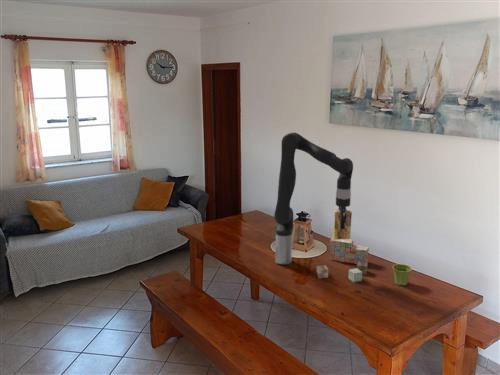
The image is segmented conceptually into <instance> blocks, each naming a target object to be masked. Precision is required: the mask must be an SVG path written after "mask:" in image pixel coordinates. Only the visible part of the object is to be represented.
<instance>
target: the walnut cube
mask: <svg viewBox="0 0 500 375" xmlns="http://www.w3.org/2000/svg"><path fill="white" fill-rule="evenodd" d="M356 268H357V269H359V270H360V271H362V276H363V275H365V276H367V272H368V263H364V262H358V264H356Z"/></svg>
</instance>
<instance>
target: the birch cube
mask: <svg viewBox="0 0 500 375" xmlns="http://www.w3.org/2000/svg"><path fill="white" fill-rule="evenodd" d="M316 276H317V278H318V279H329V268H328V266H327V265H316Z"/></svg>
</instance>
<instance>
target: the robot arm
mask: <svg viewBox="0 0 500 375" xmlns="http://www.w3.org/2000/svg"><path fill="white" fill-rule="evenodd" d="M296 150H298V151H302V152H304V153H306V154H308V155H310V156H311V157H312V158H313V159H315V160H316V161H318V162H320V163H322V164H324V165H327V166H329V167H330V168H331V169H332V170H334V171H336V172H337V173H339V176H338V178H337V179H336V180H337V182H336V190H335V206H337V207H338V209H337V210H339V212H340V229H345V222H346V215H347V210H348V209H347V207H350V206H351V196H352V191H351V190H352V189H351V188H352V187H351V186H352V176H353V172H354V171H353V170H354V163H353V161H352V160H351V159H350V158H347V157H345V158H340V157H338V156H337V155H336V154H335V153H334V152H332V151H330V150H328V149H326V148H324V147H321V146H319V145H317V144H315V143H313V142H311V141H309V140H308V139H306V138H305V137H304V136H302V135H300V134H299V133H298V132H289V133H286V134H285V135H283V137H282V139H281V156H280V157H281V158H280V168H279V173H278V174H279V175H278V186H277V201H276V206H275V209H274V210H275V211H274V215H273V216H274V220H275V222H276V223H277V224H276V229H275V261H274V262H275V264H279V265H289V264H291V263H292V256H293V254H292V252H293V251H292V250H293V249H292V248H293V247H292V245H293V244H292V242H293V228H294V211H293V209H292V207H291V200H292V196H293V194H294V190H295V187H296V186H295V185H296V182H297V170H296V165H295V156H296V155H295V154H296ZM342 219H344V220H342Z"/></svg>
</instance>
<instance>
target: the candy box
mask: <svg viewBox="0 0 500 375" xmlns="http://www.w3.org/2000/svg"><path fill="white" fill-rule="evenodd" d="M352 214H353V213H352V211H351V210H350V209H349V210H348V209H347V215H346V222H345V229H340V212H339V210H338V209H337V210H333V215H332V216H333V218H332V219H333V220H332V238H334V240H338V239H351V229H352V217H353V216H352ZM342 220H344V219H342Z"/></svg>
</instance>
